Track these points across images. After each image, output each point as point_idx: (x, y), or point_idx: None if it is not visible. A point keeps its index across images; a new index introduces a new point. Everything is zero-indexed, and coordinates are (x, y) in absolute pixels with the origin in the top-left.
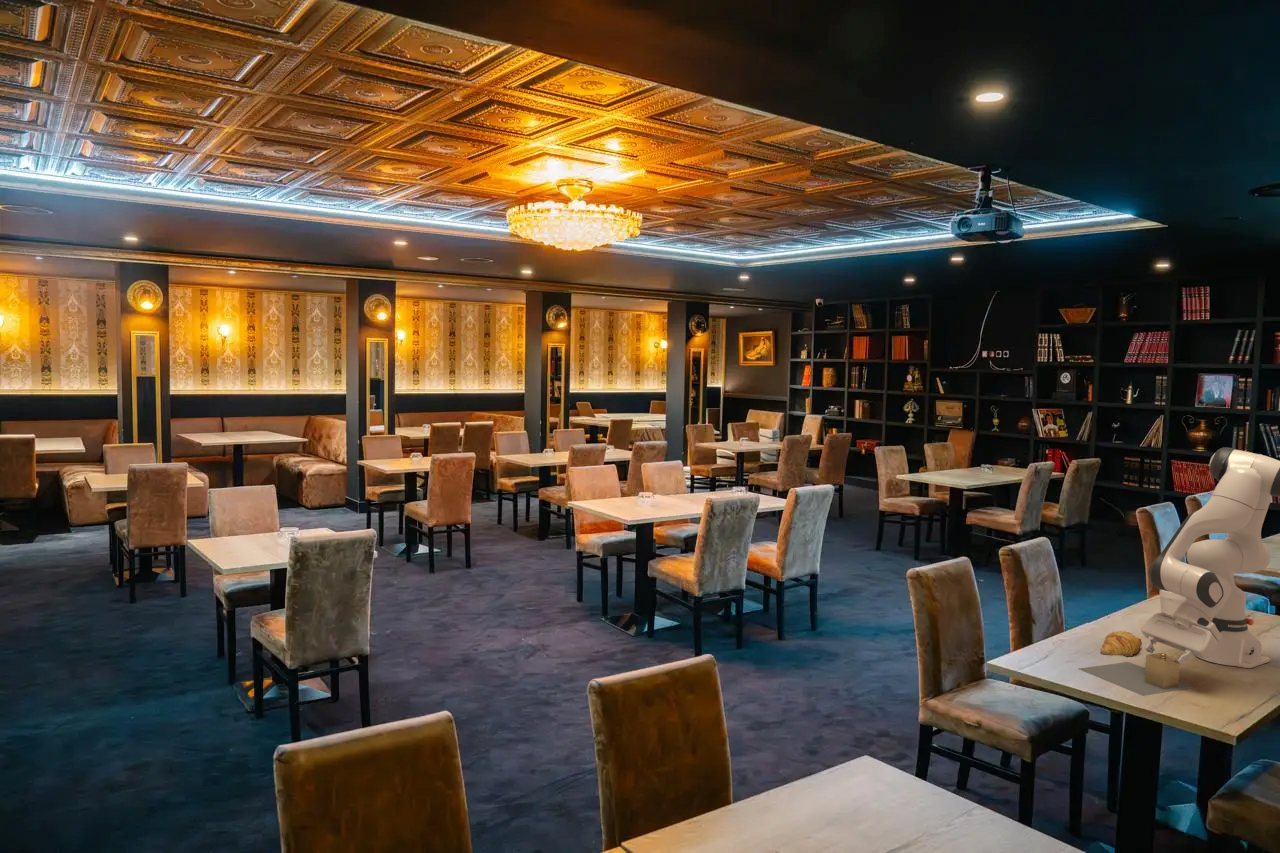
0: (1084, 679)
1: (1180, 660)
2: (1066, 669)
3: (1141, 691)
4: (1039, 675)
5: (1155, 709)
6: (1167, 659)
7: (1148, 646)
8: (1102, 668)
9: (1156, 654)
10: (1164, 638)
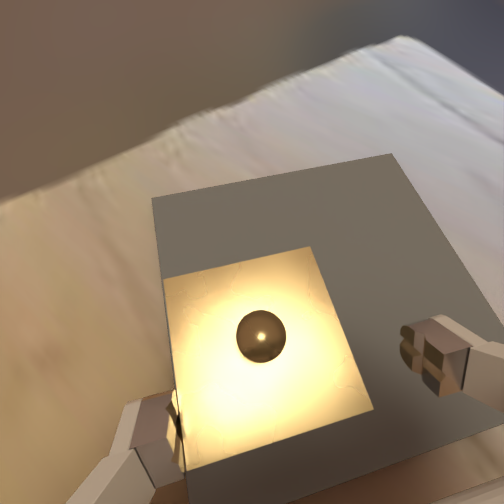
0: (316, 142)
1: (124, 417)
2: (398, 141)
3: (185, 216)
4: (336, 69)
5: (71, 185)
6: (204, 336)
7: (449, 331)
8: (413, 227)
9: (323, 331)
10: (496, 494)
